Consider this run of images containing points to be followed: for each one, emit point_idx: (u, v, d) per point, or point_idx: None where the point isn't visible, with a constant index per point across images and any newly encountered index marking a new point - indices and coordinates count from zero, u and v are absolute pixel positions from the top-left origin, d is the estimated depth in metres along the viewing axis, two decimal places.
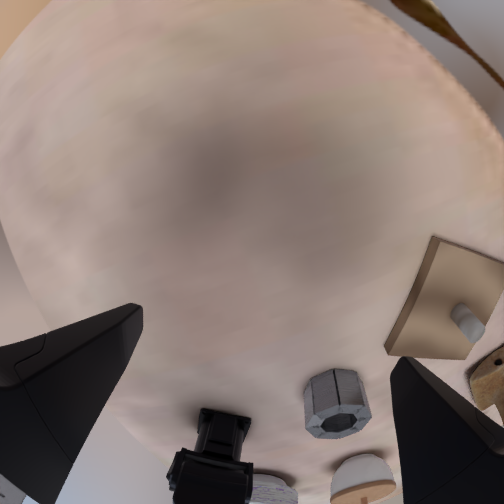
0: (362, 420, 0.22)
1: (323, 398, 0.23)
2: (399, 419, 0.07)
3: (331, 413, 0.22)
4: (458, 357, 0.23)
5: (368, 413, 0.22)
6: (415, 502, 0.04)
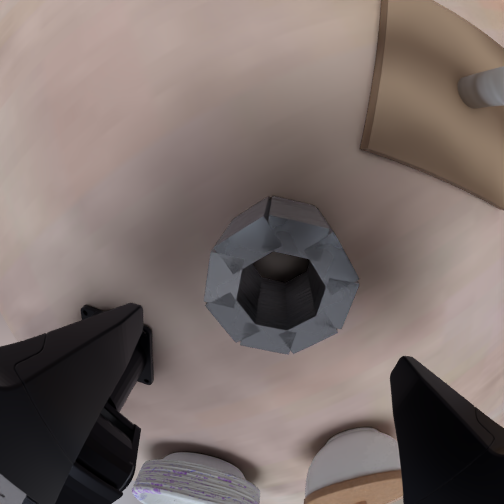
0: (338, 291, 0.11)
1: (238, 225, 0.12)
2: (399, 419, 0.07)
3: (252, 250, 0.11)
4: (500, 201, 0.12)
5: (348, 265, 0.11)
6: (415, 502, 0.04)
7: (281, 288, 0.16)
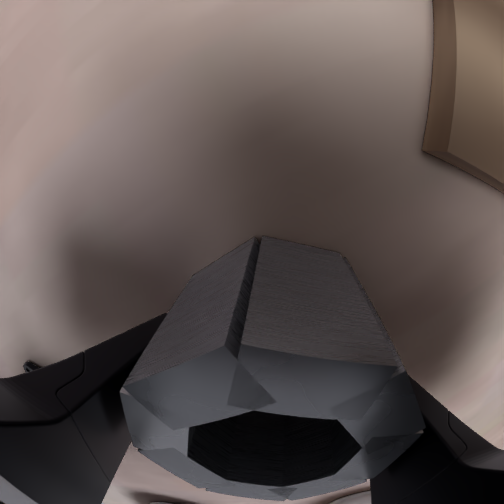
0: (384, 448, 0.04)
1: (182, 323, 0.05)
2: None
3: (206, 405, 0.04)
4: None
5: (415, 415, 0.04)
6: None
7: None
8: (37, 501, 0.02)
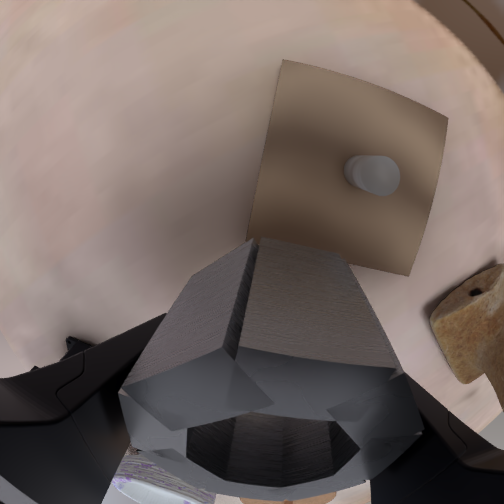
0: (382, 449, 0.04)
1: (180, 325, 0.05)
2: None
3: (204, 407, 0.04)
4: (393, 268, 0.18)
5: (414, 417, 0.04)
6: None
7: None
8: (37, 501, 0.02)
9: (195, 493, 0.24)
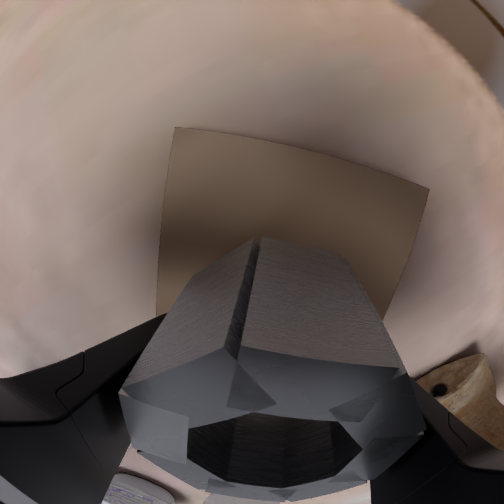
0: (384, 449, 0.04)
1: (181, 324, 0.05)
2: None
3: (205, 407, 0.04)
4: None
5: (416, 417, 0.04)
6: None
7: None
8: (37, 501, 0.02)
9: None
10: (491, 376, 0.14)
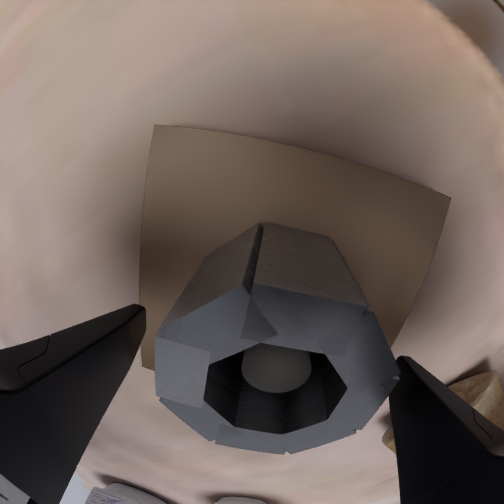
0: (367, 391, 0.06)
1: (204, 283, 0.07)
2: (397, 419, 0.07)
3: (224, 340, 0.06)
4: None
5: (388, 358, 0.06)
6: (412, 503, 0.04)
7: None
8: None
9: None
10: (501, 393, 0.12)
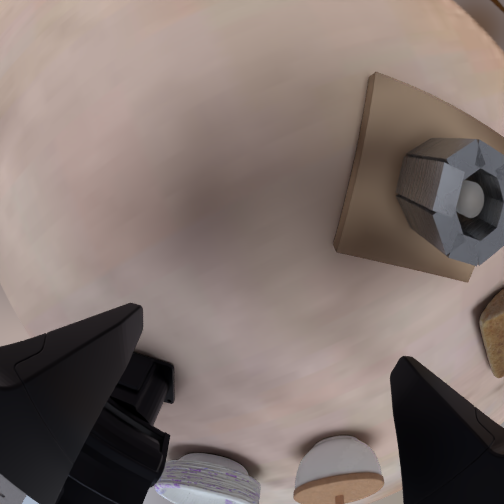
0: None
1: (444, 148, 0.11)
2: (400, 419, 0.07)
3: (470, 165, 0.10)
4: (457, 275, 0.17)
5: None
6: (415, 502, 0.04)
7: None
8: None
9: (244, 494, 0.25)
10: None
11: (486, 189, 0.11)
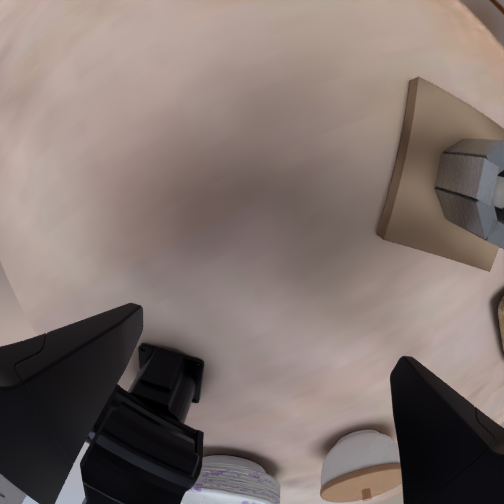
0: None
1: (480, 147, 0.11)
2: (400, 419, 0.07)
3: (502, 162, 0.10)
4: (481, 265, 0.17)
5: None
6: (415, 502, 0.04)
7: None
8: None
9: (268, 494, 0.24)
10: None
11: None
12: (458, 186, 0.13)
